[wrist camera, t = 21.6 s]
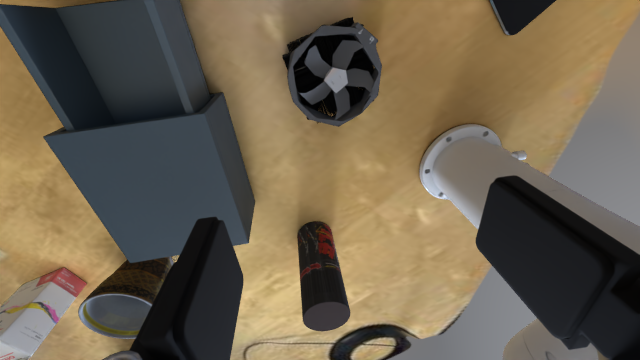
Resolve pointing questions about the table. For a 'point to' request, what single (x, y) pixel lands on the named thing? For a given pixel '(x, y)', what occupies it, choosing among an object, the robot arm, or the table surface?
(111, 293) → the ceramic cup
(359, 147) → the table surface
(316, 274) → the deodorant
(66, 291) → the ink cartridge box
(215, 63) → the table surface
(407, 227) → the table surface
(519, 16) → the smartphone
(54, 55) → the drawer
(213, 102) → the cabinet
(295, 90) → the cpu cooler
